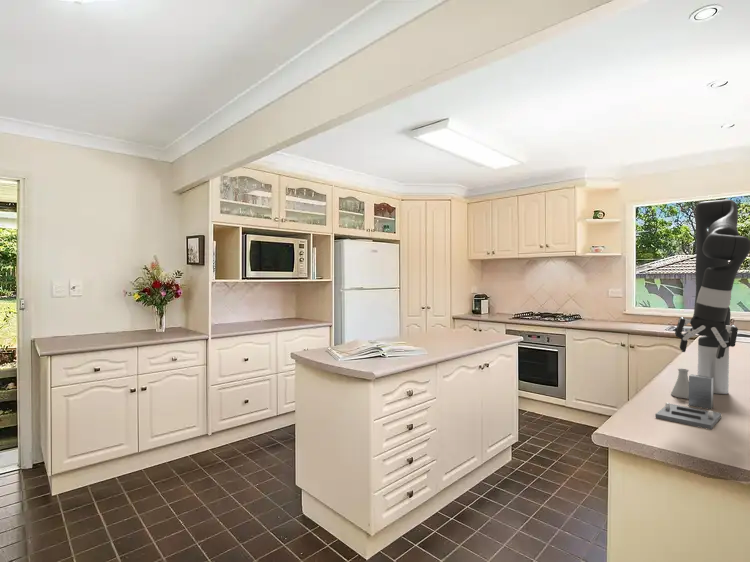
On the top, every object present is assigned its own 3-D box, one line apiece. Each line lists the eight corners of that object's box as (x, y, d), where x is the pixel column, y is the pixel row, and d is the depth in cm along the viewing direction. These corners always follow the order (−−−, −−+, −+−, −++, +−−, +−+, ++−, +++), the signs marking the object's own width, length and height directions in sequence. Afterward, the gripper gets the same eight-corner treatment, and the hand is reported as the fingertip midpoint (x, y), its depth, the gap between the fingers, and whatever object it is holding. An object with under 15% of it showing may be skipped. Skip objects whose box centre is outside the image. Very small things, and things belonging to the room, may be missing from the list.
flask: (699, 400, 150) (699, 371, 150) (676, 398, 151) (676, 370, 151) (688, 394, 157) (689, 367, 157) (666, 393, 158) (667, 366, 158)
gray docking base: (655, 417, 130) (655, 407, 130) (668, 407, 141) (669, 397, 141) (711, 429, 120) (711, 418, 120) (721, 417, 131) (721, 406, 131)
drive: (688, 405, 143) (689, 375, 143) (690, 403, 146) (691, 374, 146) (710, 409, 139) (711, 379, 139) (712, 407, 141) (713, 377, 141)
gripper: (740, 304, 124) (726, 356, 128) (681, 296, 131) (670, 345, 134) (747, 310, 118) (733, 364, 121) (685, 301, 124) (673, 353, 128)
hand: (700, 354), depth 128 cm, fingers open, 8 cm apart
